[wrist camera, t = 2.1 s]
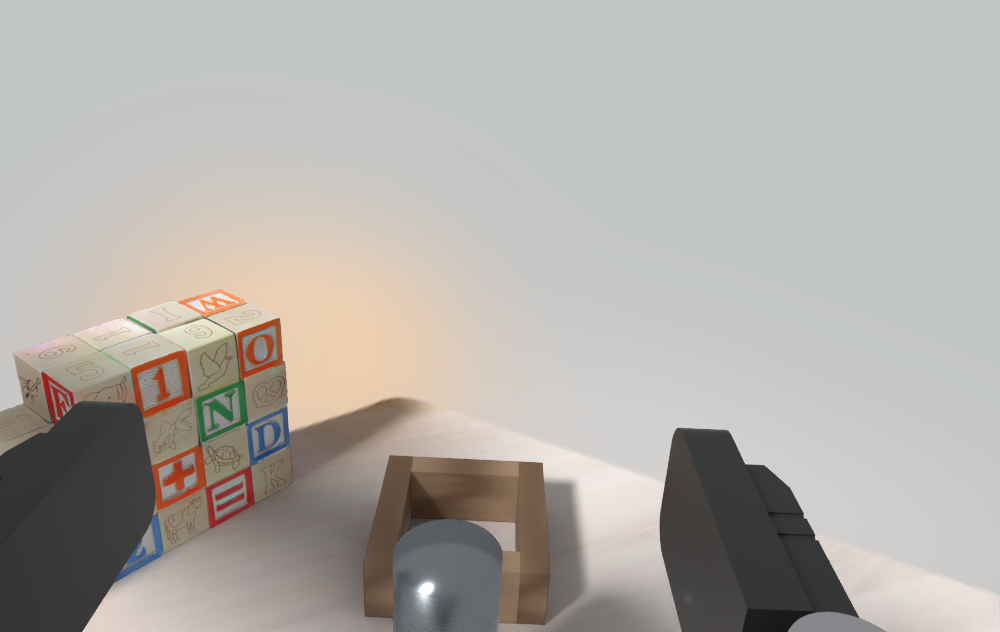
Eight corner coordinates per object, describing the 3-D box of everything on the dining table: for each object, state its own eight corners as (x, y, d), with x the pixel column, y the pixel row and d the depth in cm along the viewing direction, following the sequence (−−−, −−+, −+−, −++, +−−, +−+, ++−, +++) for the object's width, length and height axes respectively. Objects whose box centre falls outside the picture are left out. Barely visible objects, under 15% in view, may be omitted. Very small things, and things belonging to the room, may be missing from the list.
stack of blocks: (-85, 699, 35) (-172, 480, 30) (-131, 628, 38) (-216, 420, 33) (295, 482, 50) (282, 313, 45) (238, 445, 54) (219, 284, 49)
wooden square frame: (364, 616, 40) (363, 565, 39) (390, 500, 49) (389, 455, 48) (544, 624, 41) (549, 573, 39) (538, 507, 49) (542, 462, 48)
